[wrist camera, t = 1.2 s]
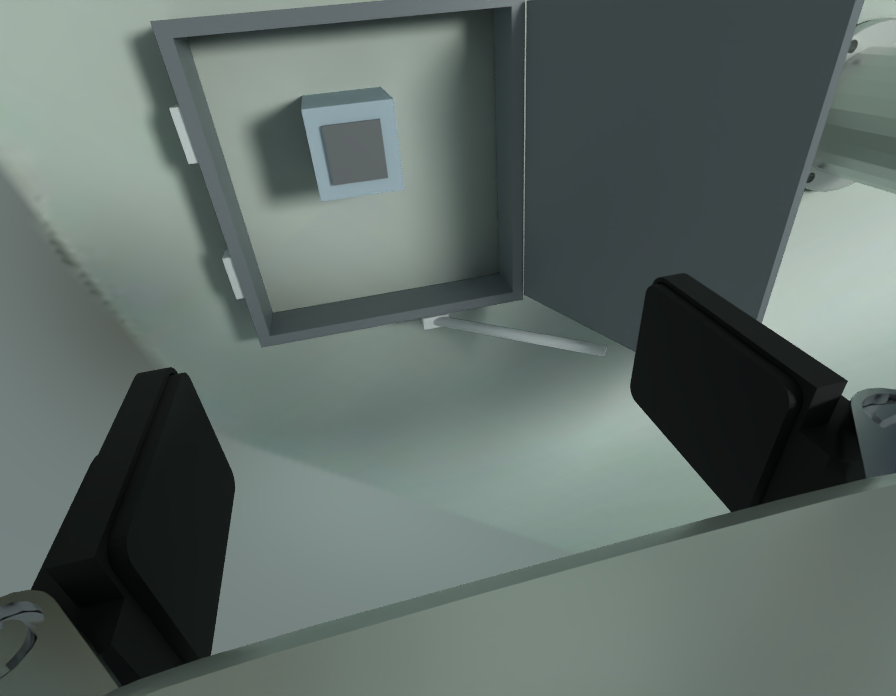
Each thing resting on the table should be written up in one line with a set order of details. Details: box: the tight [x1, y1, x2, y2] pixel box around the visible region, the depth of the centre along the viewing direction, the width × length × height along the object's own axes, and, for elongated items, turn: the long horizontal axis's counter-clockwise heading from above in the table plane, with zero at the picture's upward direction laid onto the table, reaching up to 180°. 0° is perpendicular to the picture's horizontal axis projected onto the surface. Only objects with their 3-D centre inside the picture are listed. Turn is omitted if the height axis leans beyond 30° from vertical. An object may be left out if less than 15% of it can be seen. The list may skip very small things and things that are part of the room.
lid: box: [524, 0, 864, 352], centre depth 28 cm, size 17×19×1 cm
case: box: [150, 0, 607, 357], centre depth 31 cm, size 24×21×12 cm
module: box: [301, 87, 404, 202], centre depth 31 cm, size 5×5×6 cm
